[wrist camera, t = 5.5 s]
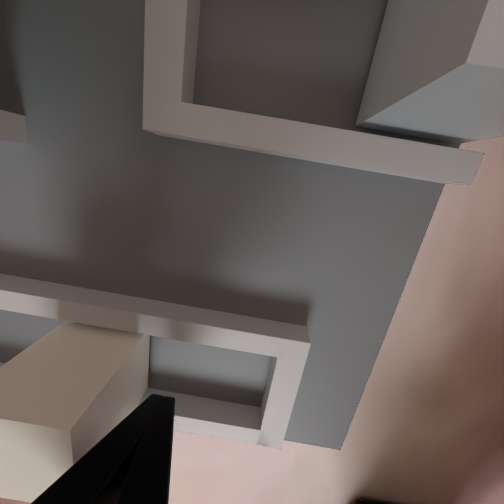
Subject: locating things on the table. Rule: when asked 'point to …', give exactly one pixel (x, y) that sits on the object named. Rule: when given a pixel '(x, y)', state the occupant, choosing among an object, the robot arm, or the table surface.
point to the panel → (212, 200)
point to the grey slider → (438, 71)
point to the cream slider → (65, 401)
